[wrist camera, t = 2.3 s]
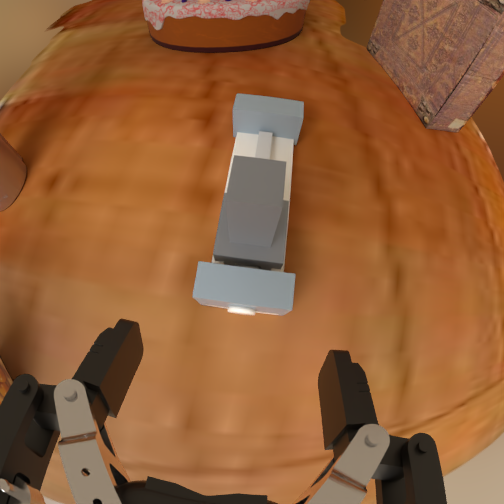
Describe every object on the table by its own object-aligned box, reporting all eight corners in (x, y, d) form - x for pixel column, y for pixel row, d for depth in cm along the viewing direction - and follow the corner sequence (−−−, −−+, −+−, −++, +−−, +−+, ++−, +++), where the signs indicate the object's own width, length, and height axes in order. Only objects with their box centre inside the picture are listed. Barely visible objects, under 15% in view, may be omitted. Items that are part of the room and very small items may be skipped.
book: (365, 48, 44) (401, -58, 15) (397, 54, 45) (436, -40, 16) (426, 129, 36) (508, 0, 8) (457, 134, 37) (535, 27, 8)
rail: (282, 320, 26) (291, 316, 22) (200, 309, 26) (191, 302, 22) (297, 126, 34) (303, 99, 29) (237, 118, 34) (237, 91, 29)
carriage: (278, 272, 26) (301, 229, 16) (216, 264, 26) (201, 216, 16) (284, 215, 28) (305, 150, 18) (226, 208, 28) (219, 139, 18)
